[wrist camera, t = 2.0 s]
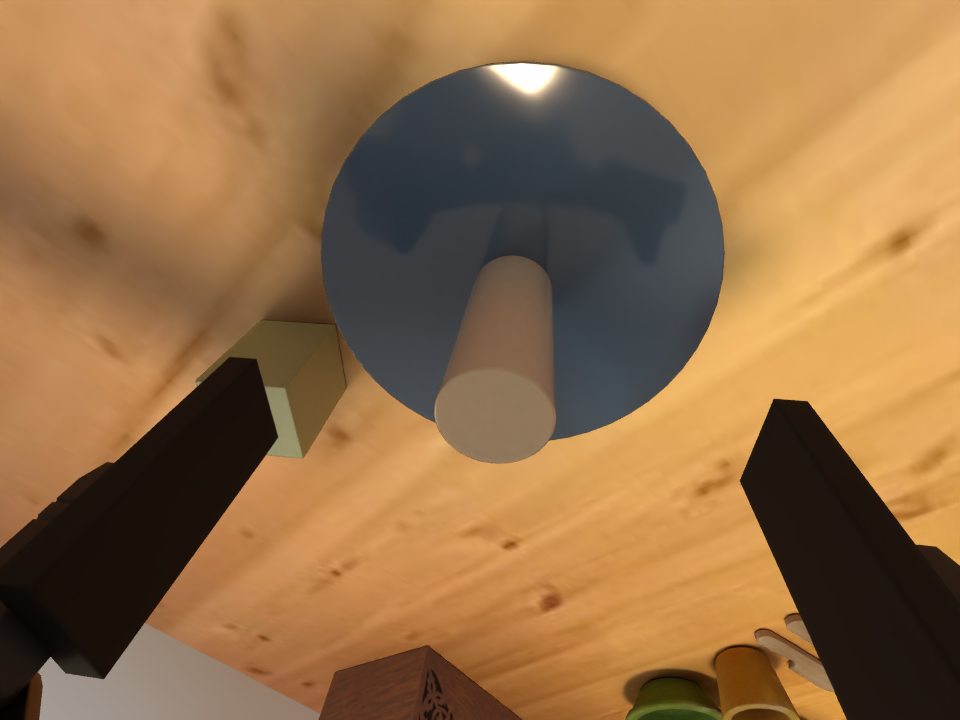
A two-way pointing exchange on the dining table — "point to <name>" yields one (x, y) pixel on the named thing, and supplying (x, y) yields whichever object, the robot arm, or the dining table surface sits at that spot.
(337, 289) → the bowl lid
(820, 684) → the tableware set
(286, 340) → the block
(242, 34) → the dining table surface
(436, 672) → the tissue box cover
